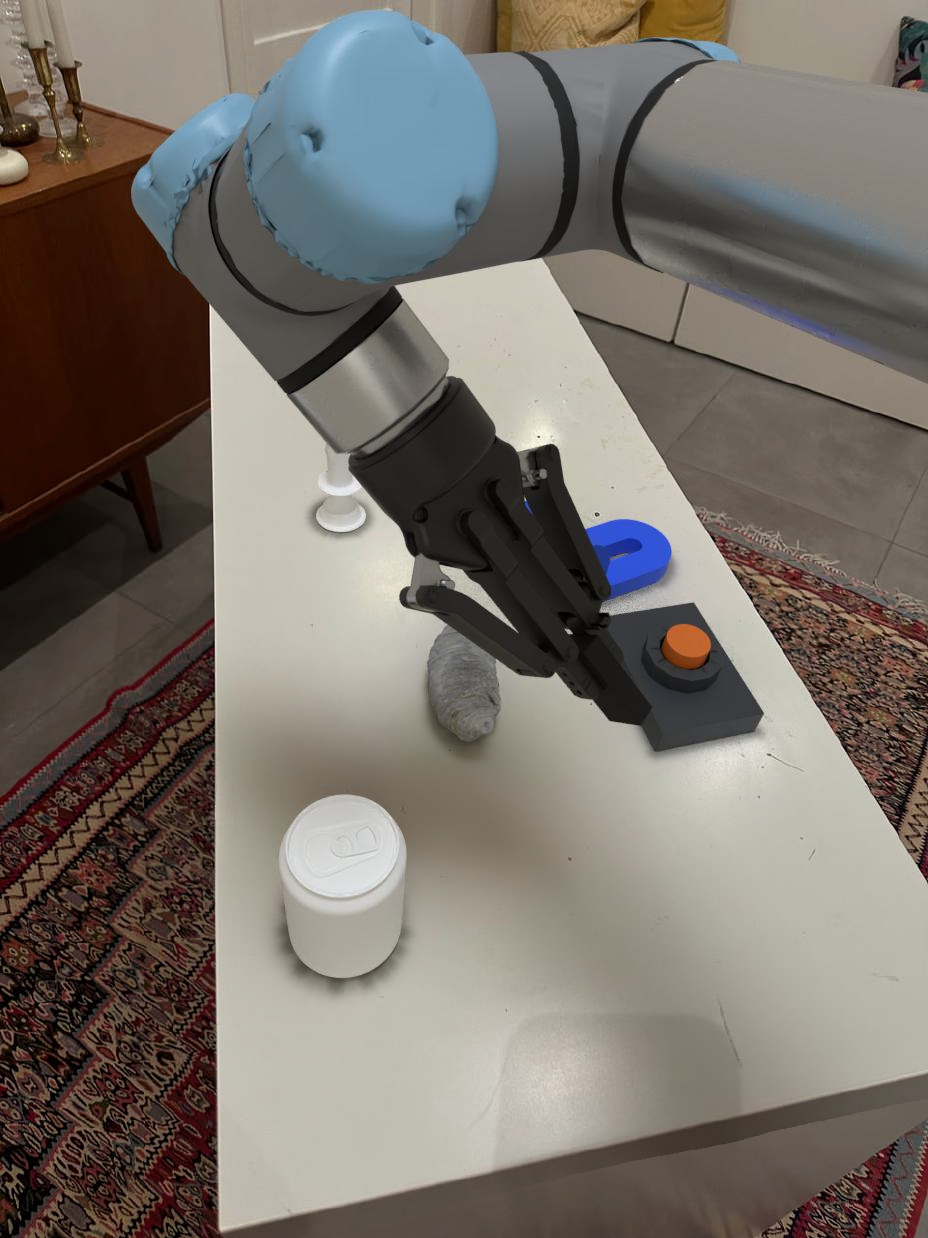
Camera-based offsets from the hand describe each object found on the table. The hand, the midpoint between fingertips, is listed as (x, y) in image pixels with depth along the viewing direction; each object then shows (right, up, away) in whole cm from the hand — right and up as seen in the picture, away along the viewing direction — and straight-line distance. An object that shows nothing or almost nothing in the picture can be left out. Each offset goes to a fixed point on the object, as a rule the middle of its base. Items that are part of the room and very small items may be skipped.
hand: (630, 714), depth 54 cm
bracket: (+3, +11, +37) cm, 39 cm away
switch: (+9, +3, +24) cm, 26 cm away
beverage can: (-19, -16, +9) cm, 27 cm away
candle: (-24, +17, +40) cm, 49 cm away
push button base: (+9, 0, +27) cm, 29 cm away
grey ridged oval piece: (-11, -1, +25) cm, 27 cm away
